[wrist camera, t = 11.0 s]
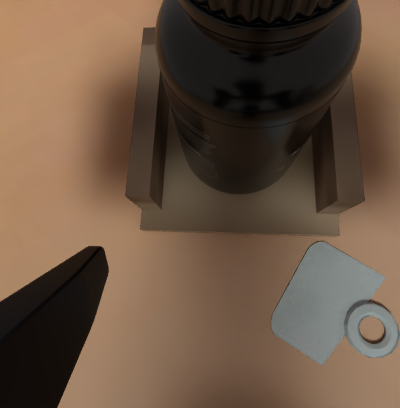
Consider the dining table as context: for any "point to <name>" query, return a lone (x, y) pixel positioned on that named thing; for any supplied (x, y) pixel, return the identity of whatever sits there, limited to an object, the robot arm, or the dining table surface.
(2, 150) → the dining table surface
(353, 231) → the dining table surface
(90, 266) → the robot arm
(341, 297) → the mounting bracket
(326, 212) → the walnut well
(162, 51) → the supplement bottle
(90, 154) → the dining table surface
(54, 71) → the dining table surface
